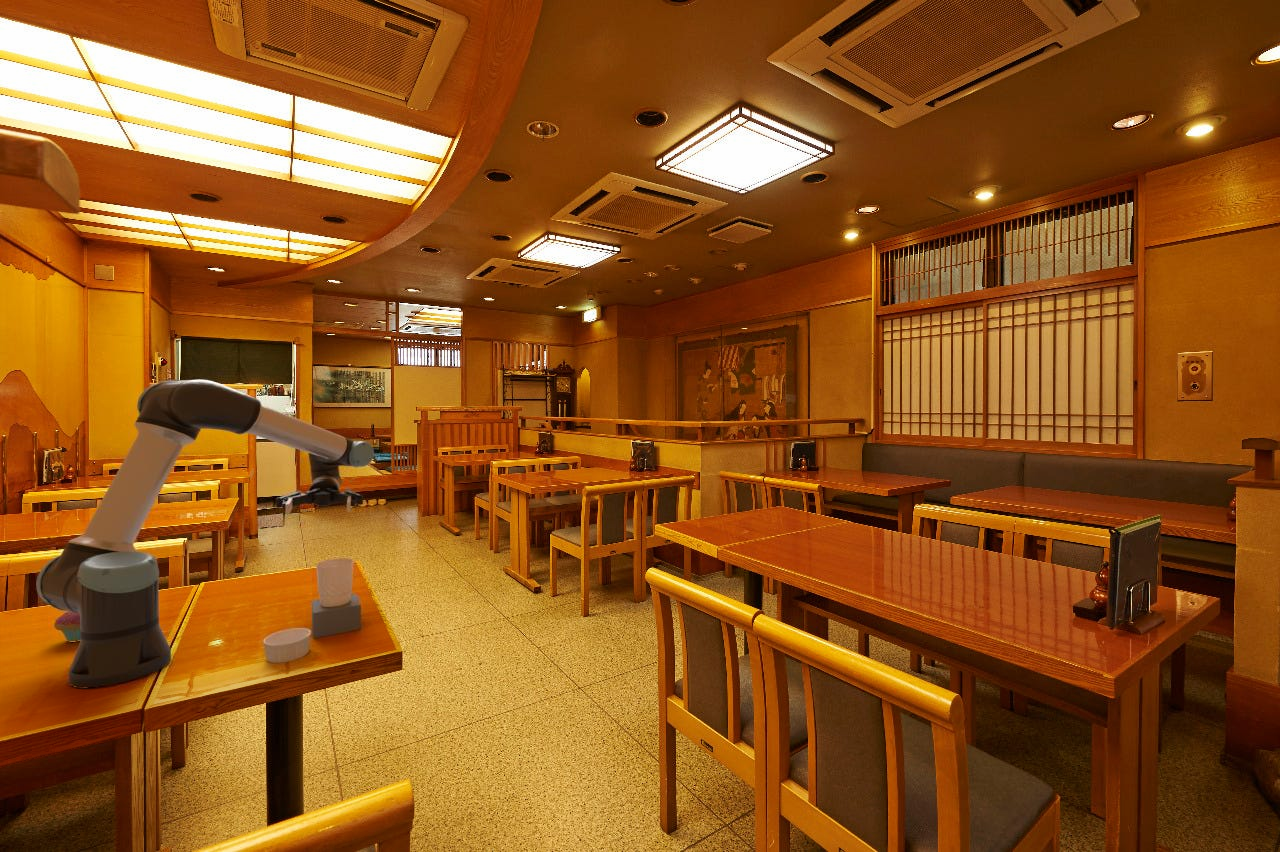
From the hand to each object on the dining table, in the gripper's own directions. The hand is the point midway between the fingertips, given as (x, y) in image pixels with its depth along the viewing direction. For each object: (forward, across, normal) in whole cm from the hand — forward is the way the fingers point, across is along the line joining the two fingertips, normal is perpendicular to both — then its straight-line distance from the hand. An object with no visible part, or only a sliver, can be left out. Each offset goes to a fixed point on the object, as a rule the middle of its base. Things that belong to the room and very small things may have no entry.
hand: (318, 508), depth 139 cm
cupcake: (-7, +48, -31) cm, 57 cm away
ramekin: (+24, +4, -27) cm, 36 cm away
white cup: (+11, -5, -22) cm, 25 cm away
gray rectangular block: (+11, -5, -27) cm, 30 cm away
